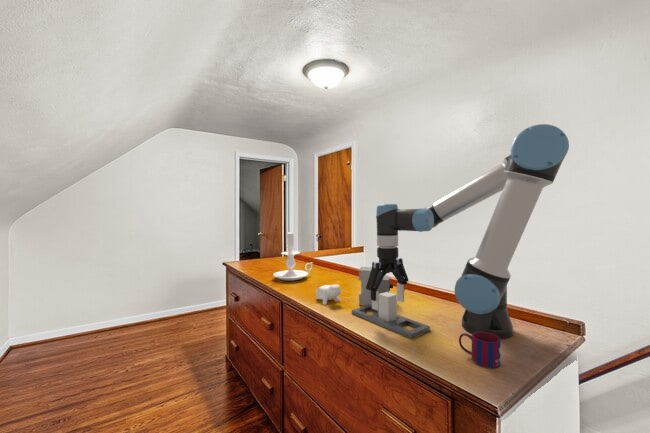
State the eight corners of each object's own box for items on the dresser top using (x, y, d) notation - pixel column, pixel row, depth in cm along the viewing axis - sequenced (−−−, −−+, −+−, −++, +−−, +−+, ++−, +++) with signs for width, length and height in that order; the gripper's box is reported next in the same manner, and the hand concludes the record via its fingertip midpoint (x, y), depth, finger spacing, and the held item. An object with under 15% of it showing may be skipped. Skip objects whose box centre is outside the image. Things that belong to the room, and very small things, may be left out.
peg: (396, 322, 106) (396, 294, 106) (388, 325, 103) (388, 297, 103) (387, 318, 110) (386, 291, 109) (378, 321, 107) (378, 294, 106)
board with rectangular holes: (430, 330, 98) (429, 326, 98) (411, 338, 92) (411, 334, 92) (369, 308, 120) (369, 304, 120) (351, 313, 114) (351, 310, 114)
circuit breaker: (393, 306, 122) (393, 271, 121) (359, 305, 125) (358, 270, 124) (392, 301, 129) (392, 267, 129) (360, 299, 132) (360, 266, 132)
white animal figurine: (315, 306, 132) (331, 303, 120) (312, 288, 135) (327, 282, 122) (331, 303, 136) (348, 299, 124) (328, 285, 139) (344, 279, 127)
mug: (496, 371, 73) (496, 345, 73) (455, 357, 80) (455, 333, 80) (503, 361, 78) (503, 336, 78) (464, 349, 85) (464, 326, 85)
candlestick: (320, 279, 170) (320, 231, 169) (280, 285, 158) (279, 233, 157) (305, 272, 188) (305, 229, 187) (268, 277, 176) (267, 231, 175)
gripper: (401, 243, 116) (402, 296, 116) (354, 249, 101) (356, 310, 101) (417, 244, 110) (418, 300, 110) (370, 251, 95) (371, 316, 95)
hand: (388, 305), depth 106 cm, fingers open, 13 cm apart
